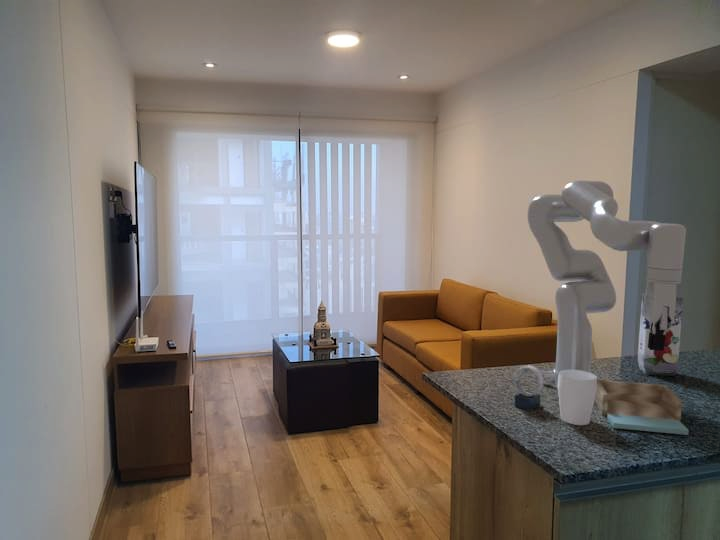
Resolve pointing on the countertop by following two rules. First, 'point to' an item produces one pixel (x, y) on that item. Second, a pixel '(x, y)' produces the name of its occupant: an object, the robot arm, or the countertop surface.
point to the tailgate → (647, 424)
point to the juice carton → (668, 358)
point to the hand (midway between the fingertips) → (655, 349)
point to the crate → (637, 400)
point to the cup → (576, 395)
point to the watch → (527, 398)
